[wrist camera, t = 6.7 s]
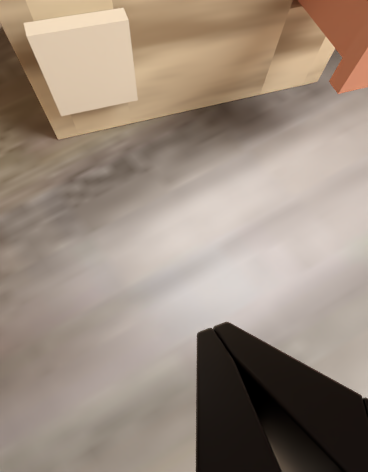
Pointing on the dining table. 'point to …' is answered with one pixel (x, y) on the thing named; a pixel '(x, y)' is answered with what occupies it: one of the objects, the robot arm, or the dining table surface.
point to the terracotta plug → (344, 38)
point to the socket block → (184, 54)
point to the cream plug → (85, 59)
